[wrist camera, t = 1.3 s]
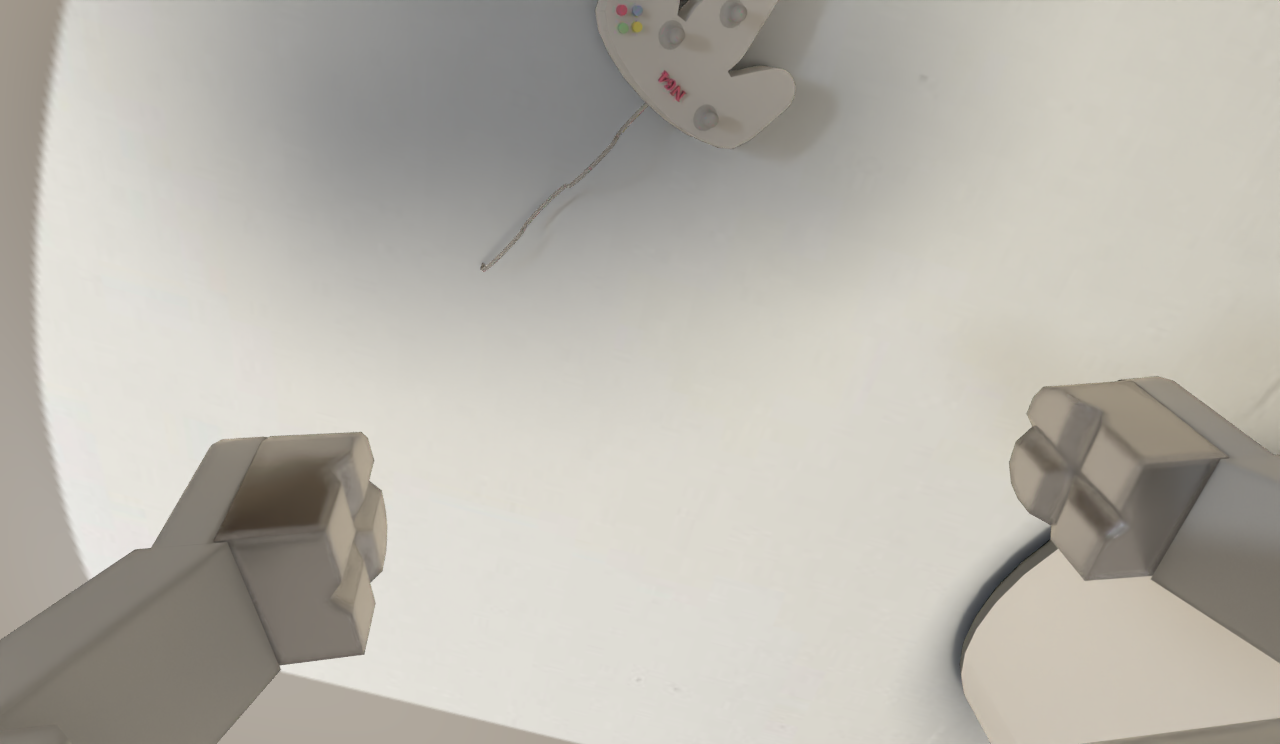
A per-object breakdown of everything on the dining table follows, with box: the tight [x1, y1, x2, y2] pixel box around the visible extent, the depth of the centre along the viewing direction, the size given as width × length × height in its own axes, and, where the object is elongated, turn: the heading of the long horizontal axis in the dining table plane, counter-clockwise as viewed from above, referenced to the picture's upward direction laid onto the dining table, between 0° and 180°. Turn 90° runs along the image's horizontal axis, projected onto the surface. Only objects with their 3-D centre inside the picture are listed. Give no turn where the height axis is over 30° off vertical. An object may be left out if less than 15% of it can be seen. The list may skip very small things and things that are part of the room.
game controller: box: [480, 0, 795, 272], centre depth 20 cm, size 6×12×3 cm, turn 152°
